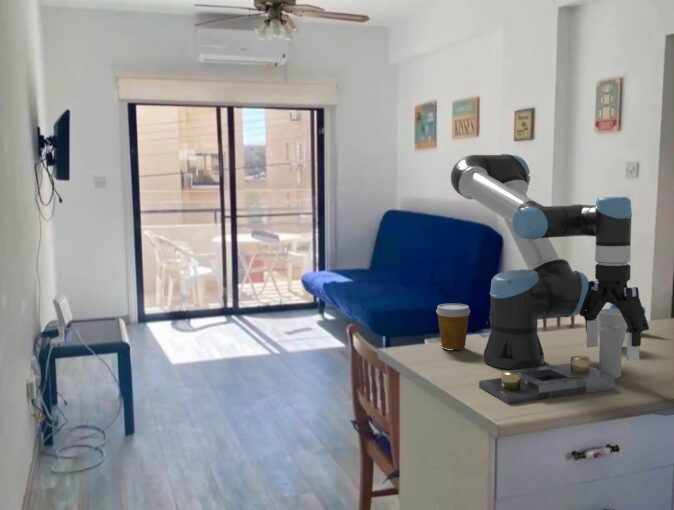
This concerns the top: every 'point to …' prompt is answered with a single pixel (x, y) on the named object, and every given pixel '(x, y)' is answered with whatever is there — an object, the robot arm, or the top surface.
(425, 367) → the top surface
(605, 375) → the marble inkwell stand
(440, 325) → the disposable coffee cup
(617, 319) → the cup
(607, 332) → the beverage can
